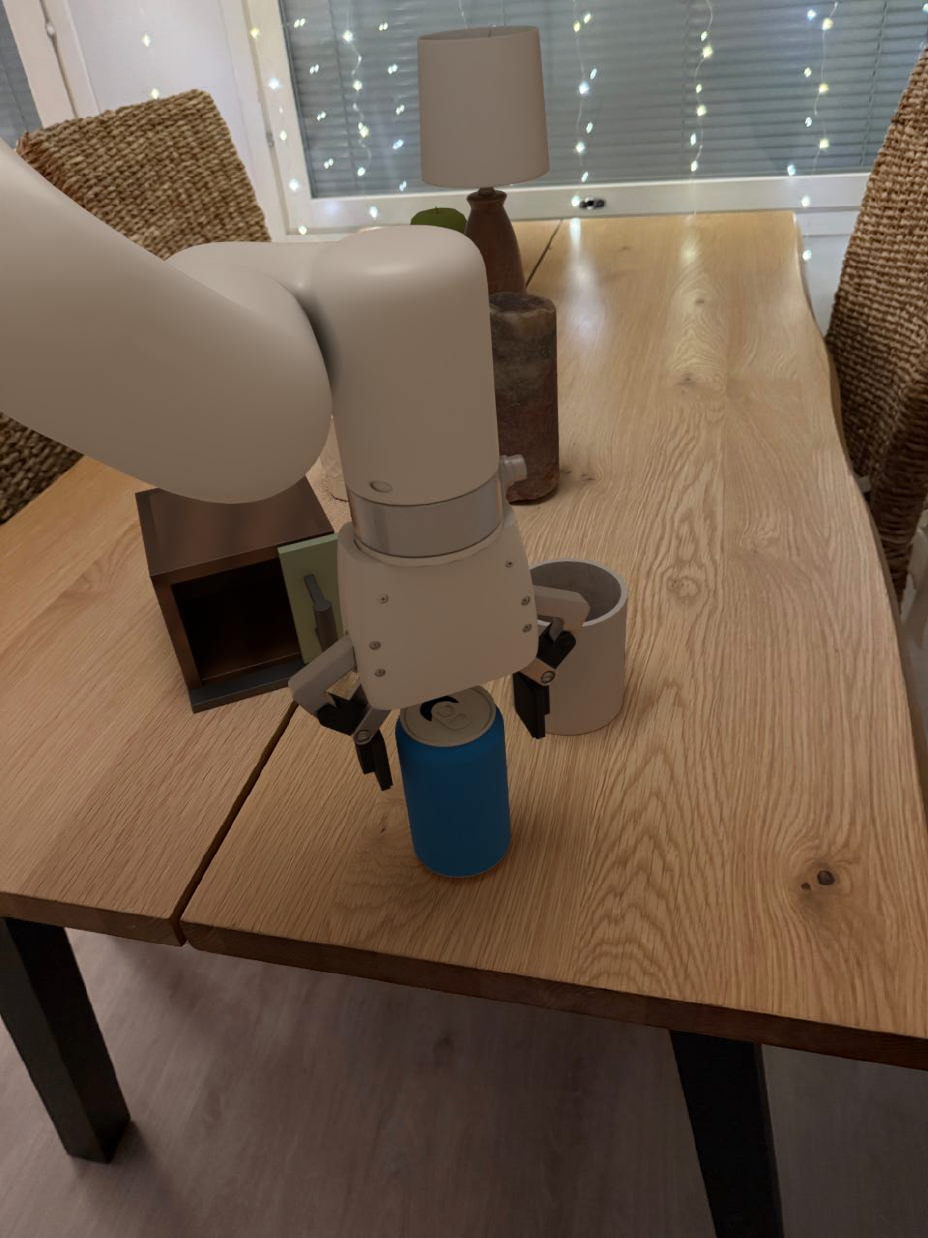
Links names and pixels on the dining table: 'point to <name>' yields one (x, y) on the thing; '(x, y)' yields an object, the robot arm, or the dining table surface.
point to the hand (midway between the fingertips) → (456, 748)
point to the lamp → (484, 130)
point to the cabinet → (228, 587)
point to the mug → (586, 647)
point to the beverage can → (455, 781)
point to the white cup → (333, 465)
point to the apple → (441, 219)
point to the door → (313, 593)
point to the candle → (526, 387)
